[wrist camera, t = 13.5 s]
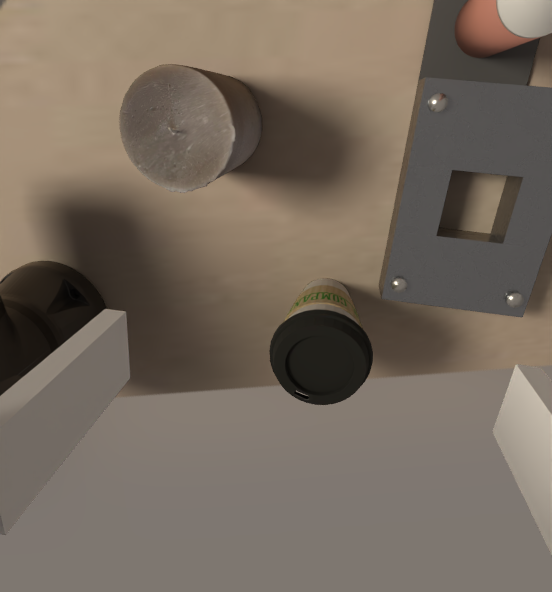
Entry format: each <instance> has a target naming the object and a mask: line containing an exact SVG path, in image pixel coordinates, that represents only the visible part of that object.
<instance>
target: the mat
mask: <svg viewBox="0 0 552 592" xmlns="http://www.w3.org/2000/svg"><path fill="white" fill-rule="evenodd" d="M467 1H468V0H434V3H433V9H432V14H431V19H430V24H429V29H428V34H427V39H426V45H425V50H424V55H423V60H422V65H421V70H420V76H419V80H421V79H423V78H425V77H428V78H440V79H452V80H464V81H476V82H488V83H500V84H512V85H524V86H526V85H527V82H528V78H529V75H530V71H531V68H532V64H533V61H534V57H535V54H536V50H537V47H538V43H539V40H540V38H537V39H534V40H532V41H529V42H526V43H524V44H521V45H518V46H516V47H513V48H510V49H508V50H505V51H502V52H500V53H497V54H494V55H492V56H489V57H485V58H475V57H471V56H469V55H467V54H465V53H464V52H463V51H462V50H461V49H460V48H459V46H458V44H457V42H456V39H455V22H456V19H457V16H458V14H459V12H460V10H461V8H462V7H463V5H464V4H465V3H466V2H467Z"/></svg>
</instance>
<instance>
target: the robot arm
mask: <svg viewBox="0 0 552 592" xmlns="http://www.w3.org/2000/svg"><path fill="white" fill-rule="evenodd" d="M129 379H130V363H129V347H128V332H127V317H126V311H118V310H111V309H106V306H105V304H104V302H103V300H102V298H101V296H100V294H99V293H98V291H97V290H96V289H95V288H94V286H93V285H92V284H91V283H90V282H89V281H88V280H87V279H86V278H85V277H83V276H82V275H81V274H79V273H78V272H76V271H75V270H73V269H71V268H69V267H67V266H65V265H62V264H59V263H55V262H49V261H37V262H31V263H28V264H26V265H23V266H21V267H19V268H17V269H15V270H13V271H11V272H10V273H9V274H7V275H6V276H5V277H4V278H3V279H2V280H1V281H0V534H2V535H6V534H7V532H8V531H9V530H10V529H11V528H12V526H13V525H14V524H15V522H16V521H17V520H18V519H19V518H20V516H21V515H22V514H23V512H24V511H25V510H26V508H27V507H28V506H29V505H30V504H31V502H32V501H33V500H34V499H35V497H36V496H37V495H38V494H39V492H40V491H41V490H42V489H43V487H44V486H45V485H46V484H47V482H48V481H49V480H50V478H51V477H52V476H53V475H54V473H55V472H56V471H57V470H58V468H59V467H60V466H61V465H62V463H63V462H64V461H65V460H66V458H67V457H68V456H69V455H70V453H71V452H72V451H73V449H74V448H75V447H76V446H77V444H78V443H79V442H80V441H81V439H82V438H83V437H84V436H85V434H86V433H87V432H88V430H89V429H90V428H91V427H92V426H93V424H94V423H95V422H96V421H97V419H98V418H99V417H100V415H101V414H102V413H103V412H104V410H105V409H106V408H107V407H108V405H109V404H110V403H111V402H112V400H113V399H114V398H115V397H116V395H117V394H118V393H119V392H120V390H121V389H122V388H123V386H124V385H125V384H126V383H127V381H128V380H129ZM493 434H494V436H495V439H496V441H497V443H498V445H499V447H500V449H501V451H502V453H503V455H504V457H505V459H506V461H507V464H508V466H509V468H510V470H511V472H512V474H513V476H514V478H515V480H516V482H517V484H518V486H519V489H520V491H521V492H522V495H523V497H524V499H525V501H526V503H527V505H528V507H529V509H530V512H531V513H532V515H533V518H534V520H535V522H536V524H537V526H538V528H539V530H540V532H541V534H542V537H543V539H544V541H545V543H546V544H547V547H548V549H549V551H550V553H551V555H552V381H551V380H550V378H549V377H548V376H547V375H546V373H545V372H544V371H543V369H542V368H540V367H533V366H525V365H518V364H516V366H515V369H514V372H513V375H512V378H511V380H510V384H509V386H508V389H507V392H506V395H505V397H504V400H503V403H502V406H501V409H500V412H499V414H498V417H497V420H496V423H495V426H494V429H493Z"/></svg>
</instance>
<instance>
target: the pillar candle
mask: <svg viewBox="0 0 552 592" xmlns="http://www.w3.org/2000/svg"><path fill="white" fill-rule="evenodd" d="M120 132H121V138H122V142H123V145H124V147H125V150H126V152H127V154H128V156H129V158H130V159H131V161H132V163H133V164H134V165H135V166H136V167H137V169H138V170H139V171H140V172H141V173H142V174H143V175H144V176H146V177H147V178H148V179H149V180H151V181H152V182H154V183H155V184H157V185H159V186H162V187H164V188H166V189H167V190H169V191H171V192H174V191H177V192H180V193H181V192H184V193H185V192H187V191H193V190H195V189H198V188H201V187H205V186H207V184H209V183H210V182H213V181H214V180H215V179H217V178H219V177H220V176H222V175H224V174H226V173H228V172H230V171H231V170H233V169H234V168H236V167H238V166H240V165H241V164H243V163H244V162H245V161H246V160H247V159H248V158H249V157H250V156H251V155H252V154H253V153H254V151H255V149H256V147H257V145H258V143H259V140H260V136H261V132H262V117H261V113H260V110H259V107H258V104H257V102H256V100H255V99H254V97H253V95H252V94H251V92H250V90H249V89H248V88H247V87H246V86H245V85H244V84H243V83H241V82H240V81H238V80H236V79H234V78H233V77H230V76H226V75H222V74H218V73H215V72H211V71H205V70H202V69H198V68H193V67H188V66H183V65H175V64H168V65H160V66H158V67H155V68H153V69H150V70H148V71H146V72H144V73H143V74H142V75H140V76H139V77H138V78H137V79H136V80H135V81H134V82H133V83H132V85H131V86H130V88H129V90H128V91H127V93H126V94H125V97H124V100H123V104H122V107H121V110H120Z"/></svg>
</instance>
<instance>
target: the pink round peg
mask: <svg viewBox="0 0 552 592" xmlns="http://www.w3.org/2000/svg"><path fill="white" fill-rule="evenodd" d="M550 33H552V0H468V1H467V2H466V3H465V4H464V5H463V7H462V8H461V10H460V12H459V14H458V16H457V19H456V22H455V39H456V42H457V44H458V46H459V48H460V49H461V50H462V51H463V52H464V53H465V54H467V55H469V56H471V57H475V58H485V57H489V56H492V55H494V54H497V53H500V52H502V51H505V50H508V49H510V48H513V47H516V46H518V45H521V44H524V43H526V42H529V41H532V40H534V39H537V38H540V37H543V36H545V35H548V34H550Z"/></svg>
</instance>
